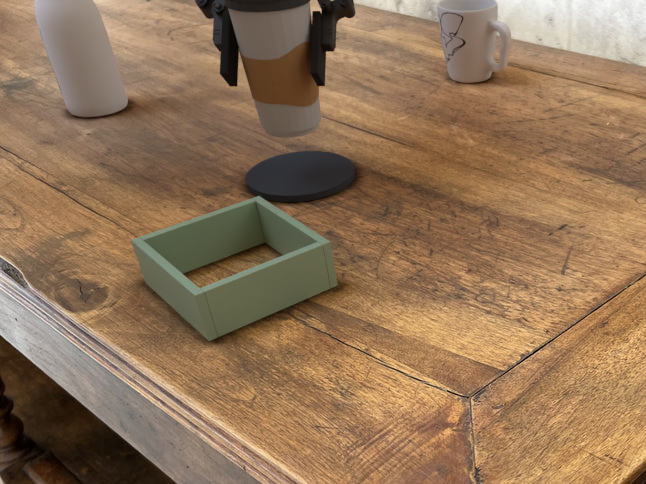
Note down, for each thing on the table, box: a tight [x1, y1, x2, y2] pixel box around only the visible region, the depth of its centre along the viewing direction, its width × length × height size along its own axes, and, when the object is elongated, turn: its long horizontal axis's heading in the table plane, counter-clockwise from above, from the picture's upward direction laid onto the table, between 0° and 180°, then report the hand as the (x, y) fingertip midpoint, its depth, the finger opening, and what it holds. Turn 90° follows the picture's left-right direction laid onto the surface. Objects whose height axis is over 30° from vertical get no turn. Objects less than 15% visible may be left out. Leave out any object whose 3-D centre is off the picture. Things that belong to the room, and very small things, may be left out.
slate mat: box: [245, 150, 356, 203], centre depth 90 cm, size 12×12×1 cm
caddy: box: [130, 196, 339, 342], centre depth 71 cm, size 13×13×4 cm
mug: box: [436, 0, 512, 84], centre depth 113 cm, size 11×8×10 cm
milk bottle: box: [34, 0, 129, 118], centre depth 102 cm, size 8×8×20 cm
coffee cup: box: [225, 0, 322, 139], centre depth 82 cm, size 8×8×15 cm
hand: (273, 79), depth 80 cm, fingers closed on coffee cup, 8 cm apart
